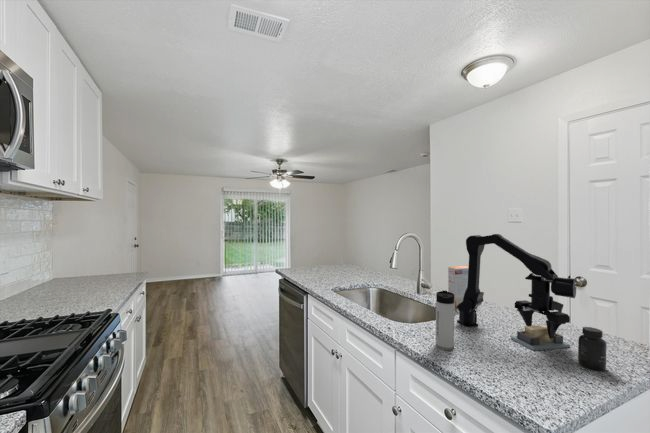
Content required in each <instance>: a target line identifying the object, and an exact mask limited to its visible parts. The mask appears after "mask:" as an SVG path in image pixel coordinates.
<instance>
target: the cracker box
mask: <svg viewBox="0 0 650 433" xmlns="http://www.w3.org/2000/svg"><path fill="white" fill-rule="evenodd" d="M468 268H469V265H463V266H462V265H461V266H449V267H447V269H448V271H447V272H448V275H447V278H448V280H447V283H448V284H447V286H448V290H447V292H451V293H453V294H454V309H458V307H457V305H459V304H460V303H461V302H463V297H464V293H465V291H466V289H467V286H468Z"/></svg>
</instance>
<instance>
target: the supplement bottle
mask: <svg viewBox="0 0 650 433" xmlns="http://www.w3.org/2000/svg"><path fill="white" fill-rule="evenodd" d="M603 333H604V332H603V330H602V329H599V328H595V327H591V326H584V327H583V326H582V334H581V335H578V339H577V340H578V341H577V342H578V344H577V346H578V347H577V362H578V364H579V365H580V366H582V367H584V368H586V369H587V370H590V371H591V370H592V371H597V372H605V370H606V369H607V348H608V346H607V345H608V344H607V342H606V341H605V340H604V339H603Z"/></svg>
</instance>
